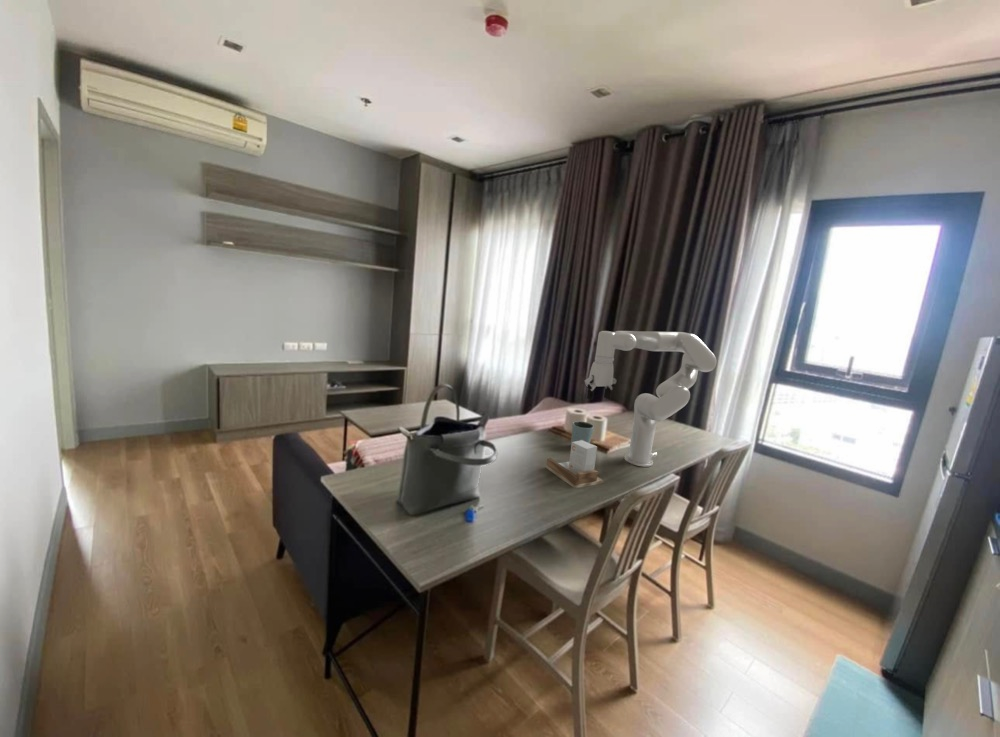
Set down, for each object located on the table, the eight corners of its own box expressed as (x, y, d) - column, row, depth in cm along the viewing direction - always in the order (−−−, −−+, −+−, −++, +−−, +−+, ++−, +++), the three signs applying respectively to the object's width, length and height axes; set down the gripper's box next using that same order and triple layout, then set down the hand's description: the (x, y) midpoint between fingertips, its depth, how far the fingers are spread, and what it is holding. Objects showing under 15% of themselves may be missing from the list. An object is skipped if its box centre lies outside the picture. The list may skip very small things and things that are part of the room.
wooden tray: (572, 463, 178) (574, 452, 177) (602, 483, 161) (604, 470, 161) (545, 467, 171) (547, 455, 170) (574, 488, 155) (576, 475, 154)
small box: (593, 477, 163) (597, 446, 160) (582, 480, 159) (587, 448, 156) (577, 469, 169) (582, 439, 167) (567, 472, 165) (571, 441, 163)
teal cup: (578, 443, 205) (581, 420, 203) (594, 450, 197) (598, 426, 195) (564, 446, 198) (568, 422, 196) (581, 453, 191) (584, 429, 189)
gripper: (612, 358, 184) (607, 395, 187) (582, 358, 175) (577, 397, 178) (625, 361, 177) (619, 400, 180) (594, 361, 169) (588, 401, 172)
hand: (598, 398), depth 179 cm, fingers open, 9 cm apart
